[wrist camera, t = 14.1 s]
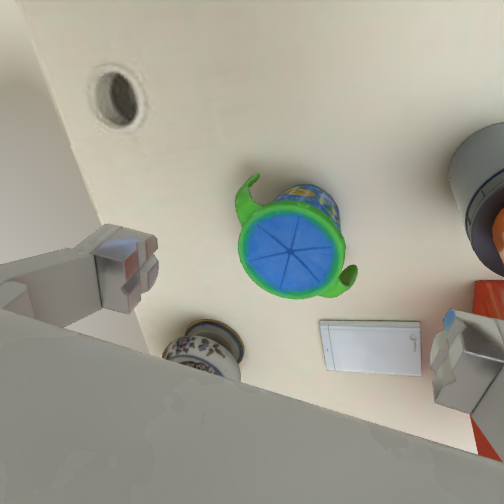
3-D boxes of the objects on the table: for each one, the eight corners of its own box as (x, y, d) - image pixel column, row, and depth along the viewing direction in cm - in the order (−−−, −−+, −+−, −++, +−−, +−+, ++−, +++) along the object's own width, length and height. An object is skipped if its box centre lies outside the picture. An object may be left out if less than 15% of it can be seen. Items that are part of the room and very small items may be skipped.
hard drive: (420, 328, 48) (319, 327, 53) (422, 378, 52) (326, 372, 56) (420, 320, 50) (320, 319, 54) (421, 369, 53) (328, 364, 58)
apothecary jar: (194, 372, 67) (138, 472, 53) (168, 315, 62) (99, 408, 48) (260, 372, 63) (220, 483, 48) (238, 311, 58) (185, 413, 43)
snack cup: (232, 189, 48) (199, 225, 40) (297, 132, 43) (274, 161, 34) (314, 280, 51) (299, 332, 43) (385, 238, 46) (384, 288, 37)
